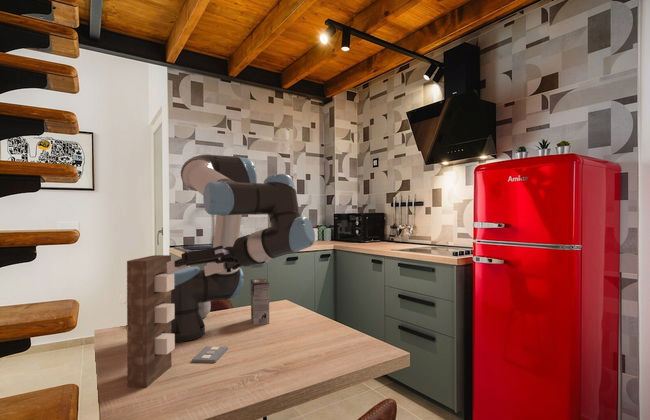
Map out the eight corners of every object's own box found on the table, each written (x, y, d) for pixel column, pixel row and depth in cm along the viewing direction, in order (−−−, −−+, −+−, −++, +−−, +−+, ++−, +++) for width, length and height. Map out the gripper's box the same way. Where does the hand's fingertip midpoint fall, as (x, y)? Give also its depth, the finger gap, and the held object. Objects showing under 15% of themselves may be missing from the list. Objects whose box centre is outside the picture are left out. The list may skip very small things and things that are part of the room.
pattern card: (227, 349, 111) (227, 346, 111) (215, 362, 101) (215, 359, 101) (206, 348, 111) (206, 345, 111) (191, 362, 101) (191, 358, 102)
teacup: (201, 322, 140) (201, 301, 140) (177, 320, 142) (177, 300, 142) (219, 312, 154) (218, 293, 154) (196, 311, 156) (196, 293, 156)
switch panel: (171, 366, 99) (170, 255, 99) (146, 387, 87) (146, 260, 87) (154, 365, 99) (153, 255, 100) (127, 386, 87) (126, 260, 88)
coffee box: (250, 319, 143) (250, 279, 143) (266, 317, 145) (266, 278, 145) (252, 325, 134) (252, 283, 135) (269, 323, 136) (269, 282, 137)
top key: (174, 288, 95) (174, 273, 95) (166, 291, 91) (166, 276, 91) (160, 288, 95) (159, 273, 95) (151, 291, 91) (151, 276, 91)
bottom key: (174, 348, 95) (174, 333, 95) (166, 354, 91) (166, 338, 91) (160, 348, 95) (160, 333, 95) (151, 354, 91) (151, 338, 91)
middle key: (174, 318, 95) (174, 303, 95) (166, 323, 91) (166, 307, 91) (160, 318, 95) (160, 303, 95) (151, 323, 91) (151, 307, 91)
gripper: (224, 258, 75) (150, 282, 82) (282, 266, 98) (219, 284, 104) (220, 225, 78) (148, 250, 84) (277, 240, 100) (217, 260, 107)
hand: (187, 269), depth 94 cm, fingers open, 13 cm apart
